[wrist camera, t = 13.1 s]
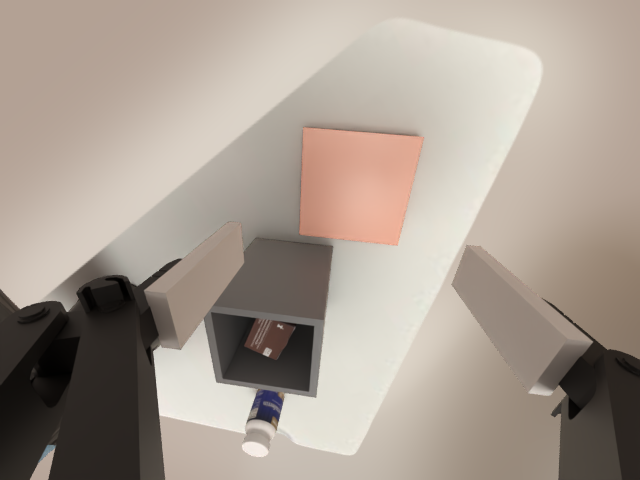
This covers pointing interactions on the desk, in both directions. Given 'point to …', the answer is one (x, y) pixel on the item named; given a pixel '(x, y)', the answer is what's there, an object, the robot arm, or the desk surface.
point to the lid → (356, 184)
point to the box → (269, 337)
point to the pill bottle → (262, 422)
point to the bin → (272, 316)
